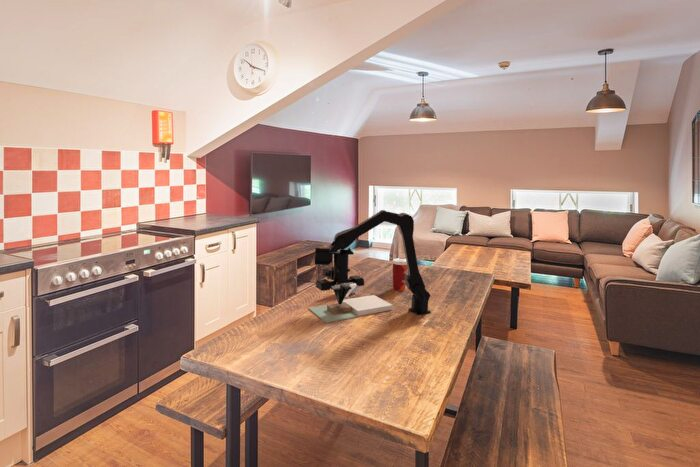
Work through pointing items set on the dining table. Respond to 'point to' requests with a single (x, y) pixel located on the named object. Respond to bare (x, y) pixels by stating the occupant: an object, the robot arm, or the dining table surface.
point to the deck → (368, 305)
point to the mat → (328, 316)
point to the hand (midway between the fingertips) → (339, 303)
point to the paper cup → (399, 274)
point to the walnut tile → (339, 308)
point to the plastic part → (353, 289)
